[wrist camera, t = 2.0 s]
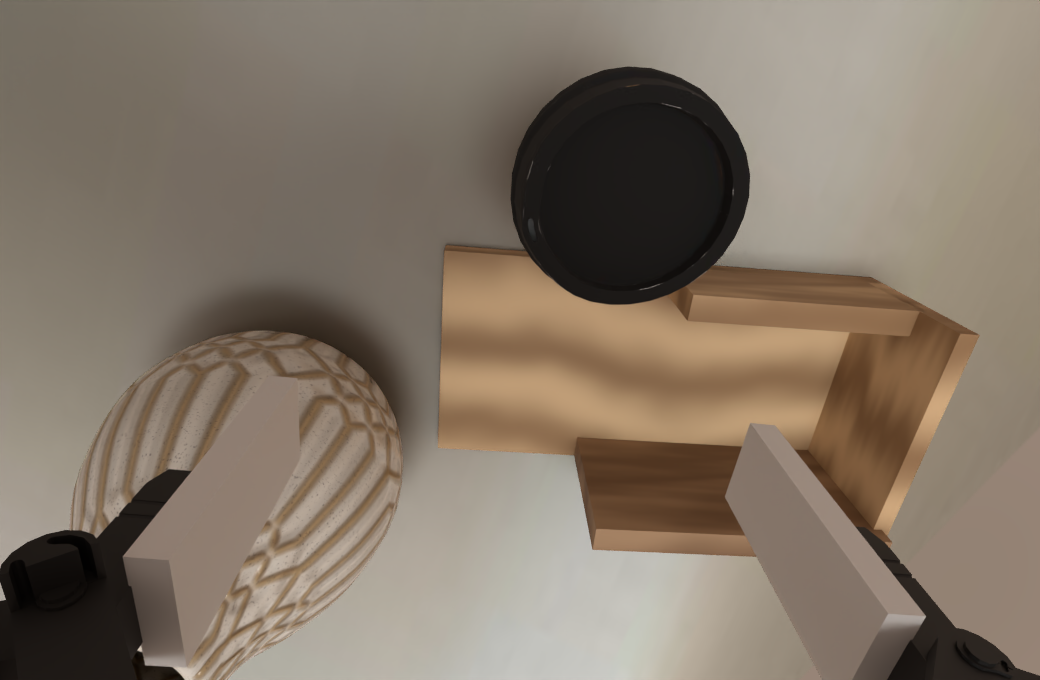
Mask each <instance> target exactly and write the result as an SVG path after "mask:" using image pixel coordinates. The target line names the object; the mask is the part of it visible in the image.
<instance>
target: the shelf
mask: <svg viewBox="0 0 1040 680" xmlns="http://www.w3.org/2000/svg"><path fill="white" fill-rule="evenodd" d="M978 338H979V335H978V334H977V333H975V332H973V331H971V330H969V329H967V328H965V327H963V326H962V325H960V324H958V323H956V322H954V321H952V320H950V319H948V318H947V317H945V316H943V315H941V314H939V313H937V312H935V311H933V310H932V309H930V308H928V307H926V306H924V305H922V304H920V303H918V302H917V301H915V300H913V299H911V298H909V297H907V296H905V295H903V294H902V293H900V292H898V291H896V290H894V289H892V288H890V287H888V286H886V285H885V284H883V283H881V282H879V281H877V280H875V279H873V278H871V277H858V276H845V275H832V274H819V273H806V272H792V271H779V270H766V269H753V268H740V267H727V266H713V265H712V266H711V268H710V269H709V270H708V271H706V272H705V273H704V274H702V275H701V276H700V277H698V278H697V279H696V280H694V281H693V282H692V283H690V284H689V285H687V286H685V287H683V288H681V289H679V290H677V291H675V292H673V293H672V294H669V295H666V296H663V297H661V298H658V299H655V300H652V301H648V302H642V303H636V304H630V305H608V304H602V303H595V302H590V301H587V300H585V299H582V298H579V297H577V296H574V295H572V294H571V293H569V292H568V291H566V290H565V289H563V288H562V287H560V286H559V285H558V284H557V283H556V282H555V281H554V280H553V279H551V278H550V277H548V276H547V275H546V274H545V273H544V272H543V271H542V270H541V269H540V268H539V267H538V266H537V265H536V264H535V263H534V261H533V260H532V259H531V258H530V256H529V254H528V253H527V251H516V250H503V249H490V248H477V247H464V246H450V245H446V247H445V250H444V272H443V304H442V335H441V367H440V398H439V430H438V448H450V449H469V450H487V451H506V452H524V453H543V454H562V455H574V456H575V462H576V467H577V472H578V477H579V482H580V487H581V492H582V498H583V503H584V508H585V513H586V518H587V523H588V529H589V534H590V539H591V544H592V549H593V550H614V551H637V552H660V553H683V554H706V555H729V556H752V557H757V556H756V555H755V553H754V551H753V549H752V547H751V545H750V543H749V541H748V540H747V538H746V536H745V534H744V532H743V530H742V528H741V526H740V525H739V523H738V521H737V519H736V517H735V515H734V513H733V511H732V510H731V508H730V506H729V504H728V502H727V500H726V498H725V495H726V492H727V489H728V486H729V483H730V480H731V477H732V474H733V471H734V469H735V466H736V463H737V460H738V457H739V454H740V451H741V448H742V445H743V442H744V439H745V437H746V434H747V431H748V428H749V425H750V423H756V424H766V425H775V426H776V427H777V429H778V430H779V431H780V432H781V434H782V435H783V436H784V437H785V439H786V440H787V441H788V442H789V444H790V445H791V446H792V447H793V449H794V450H795V451H796V453H797V454H798V455H799V456H800V458H801V459H802V460H803V461H804V463H805V464H806V465H807V466H808V468H809V469H810V470H811V471H812V473H813V474H814V475H815V477H816V478H817V479H818V480H819V482H820V483H821V484H822V485H823V487H824V488H825V489H826V490H827V492H828V493H829V494H830V495H831V497H832V498H833V499H834V501H835V502H836V503H837V504H838V506H839V507H840V508H841V509H842V511H843V512H844V513H845V514H846V516H847V517H848V518H849V520H850V521H851V522H852V523H853V525H854V526H855V527H865V528H867V529H868V530H869V531H871V532H872V533H873V534H874V535H876V536H877V537H878V538H880V539H881V540H882V541H883V542H885V543H886V544H887V546H888V547H889V548H890V546H891V544H892V541H891V540H890V539H889V538H888V537H887V535H888V533H889V531H890V529H891V527H892V524H893V522H894V520H895V518H896V516H897V514H898V511H899V509H900V507H901V505H902V503H903V500H904V498H905V496H906V494H907V492H908V490H909V487H910V485H911V483H912V481H913V479H914V477H915V474H916V472H917V470H918V468H919V466H920V464H921V461H922V459H923V457H924V455H925V453H926V451H927V448H928V446H929V444H930V442H931V440H932V438H933V435H934V433H935V431H936V429H937V427H938V424H939V422H940V420H941V418H942V416H943V414H944V411H945V409H946V407H947V405H948V403H949V401H950V398H951V396H952V394H953V392H954V390H955V388H956V385H957V383H958V381H959V379H960V377H961V375H962V372H963V370H964V368H965V366H966V364H967V361H968V359H969V357H970V355H971V353H972V351H973V348H974V346H975V344H976V342H977V340H978Z"/></svg>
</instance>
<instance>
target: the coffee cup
mask: <svg viewBox="0 0 1040 680" xmlns="http://www.w3.org/2000/svg"><path fill="white" fill-rule="evenodd" d="M749 184H750V173H749V167H748V161H747V155H746V152H745V150H744V147H743V145H742V142H741V140H740V138H739V135H738V133H737V132H736V131H735V129H734V128H733V126H732V125H731V123H730V122H729V121H728V119H727V118H726V116H725V115H724V113H723V112H722V110H721V109H720V108H719V106H718V105H717V104H716V103H715V102H714V101H713V100H712V99H711V98H710V97H709V96H708V95H707V94H705V93H704V92H703V91H702V90H701V89H700V88H698V87H696V86H694V85H692V84H691V83H689V82H687V81H685V80H683V79H682V78H680V77H677V76H675V75H672V74H668V73H665V72H662V71H659V70H655V69H652V68H640V67H622V68H615V69H608V70H603V71H600V72H598V73H595V74H592V75H590V76H587V77H584V78H582V79H580V80H578V81H577V82H575V83H574V84H572V85H570V86H569V87H567V88H566V89H564V90H562V91H561V92H560V93H559V94H557V95H556V96H555V97H554V98H553V99H552V100H551V101H550V102H549V103H548V104H547V105H546V106H545V107H544V108H542V110H541V111H540V113H539V114H538V115H537V117H536V118H535V119H534V121H533V122H532V124H531V125H530V126H529V128H528V129H527V132H526V134H525V136H524V138H523V140H522V142H521V145H520V147H519V149H518V152H517V156H516V160H515V164H514V168H513V172H512V186H511V206H512V213H513V221H514V224H515V227H516V230H517V232H518V235H519V238H520V241H521V243H522V244H523V246H524V248H525V249H526V251H527V253H528V254H529V256H530V258H531V259H532V260H533V261H534V263H535V264H536V265H537V266H538V267H539V268H540V269H541V270H542V271H543V272H544V273H545V274H546V275H547V276H548V277H550V278H551V279H553V280H554V281H555V282H556V283H557V284H558V285H559V286H560V287H562V288H563V289H565V290H566V291H568V292H569V293H571V294H572V295H574V296H577V297H579V298H582V299H585V300H587V301H590V302H595V303H602V304H608V305H630V304H636V303H642V302H648V301H652V300H655V299H658V298H661V297H663V296H666V295H669V294H672V293H673V292H675V291H677V290H679V289H681V288H683V287H685V286H687V285H689V284H690V283H692V282H693V281H694V280H696V279H697V278H698V277H700V276H701V275H702V274H704V273H705V272H706V271H708V270H709V269H710V268H711V266H712V265H713V264H714V263H715V262H716V261H717V260H718V259H719V258H720V257H721V256H722V255H723V254H724V252H725V251H726V249H727V248H728V246H729V245H730V243H731V242H732V241H733V239H734V238H735V236H736V233H737V231H738V229H739V227H740V225H741V222H742V220H743V218H744V214H745V210H746V206H747V202H748V198H749Z"/></svg>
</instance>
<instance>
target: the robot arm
mask: <svg viewBox="0 0 1040 680" xmlns="http://www.w3.org/2000/svg"><path fill="white" fill-rule="evenodd" d="M299 461H300V437H299V409H298V382H297V378H290V377H280V376H270V375H269V376H268V378H267V379H266V380H265V381H264V383H263V384H262V385H261V386H260V387H259V389H258V390H257V391H256V392H255V394H254V395H253V396H252V397H251V399H250V400H249V401H248V402H247V404H246V405H245V406H244V407H243V409H242V410H241V411H240V412H239V413H238V415H237V416H236V417H235V418H234V420H233V421H232V422H231V423H230V425H229V426H228V427H227V428H226V430H225V431H224V432H223V433H222V434H221V436H220V437H219V438H218V439H217V441H216V442H215V443H214V444H213V446H212V447H211V448H210V449H209V451H208V452H207V453H206V454H205V456H204V457H203V458H202V459H201V460H200V462H199V463H198V464H197V465H196V467H195V468H194V469H193V470H192V471H186V470H174V469H168V470H166V471H165V472H163V473H162V474H160V475H158V476H157V477H155V478H153V479H152V480H150V481H148V482H147V483H146V484H145V485H144V486H143V487H142V488H141V489H140V490H139V492H138V493H137V494H136V495H135V496H134V497H133V498H132V501H131V503H128V504H127V505H126V506H125V507H124V508H123V509H122V510H121V512H120V513H119V516H118V517H115V518H114V519H113V521H112V522H111V523H110V524H109V525H108V526H107V527H106V528H105V529H104V531H103V532H102V533H101V534H100V535H99V536H98V537H97V538H96V537H95V536H94V535H93V534H91V533H88V532H85V531H82V530H64V531H59V532H55V533H50V534H46V535H44V536H41V537H39V538H36V539H34V540H32V541H29V542H27V543H26V544H24V545H23V546H21V547H20V548H18V549H17V550H15V551H14V552H12V553H11V554H10V555H9V557H8V558H7V559H6V560H5V561H4V562H3V563H2V565H1V568H0V583H1V586H2V589H3V592H4V595H5V598H6V600H4V601H0V680H137V678H136V675H135V671H134V668H133V664H132V661H131V660H132V658H133V657H134V655H135V653H136V652H137V650H138V649H139V647H140V646H141V647H142V652H143V657H144V662H145V665H149V666H165V667H182V668H187V666H188V665H189V663H190V661H191V659H192V657H193V655H194V654H195V652H196V650H197V648H198V646H199V644H200V643H201V641H202V639H203V637H204V635H205V633H206V632H207V630H208V628H209V626H210V624H211V622H212V621H213V619H214V617H215V615H216V613H217V611H218V610H219V608H220V606H221V604H222V602H223V600H224V599H225V597H226V595H227V593H228V591H229V589H230V588H231V586H232V584H233V582H234V580H235V578H236V577H237V575H238V573H239V571H240V569H241V567H242V566H243V564H244V562H245V560H246V558H247V556H248V555H249V553H250V551H251V549H252V547H253V545H254V544H255V542H256V540H257V538H258V536H259V534H260V532H261V531H262V529H263V527H264V525H265V523H266V521H267V520H268V518H269V516H270V514H271V512H272V510H273V509H274V507H275V505H276V503H277V501H278V499H279V498H280V496H281V494H282V492H283V490H284V488H285V487H286V485H287V483H288V481H289V479H290V477H291V476H292V474H293V472H294V470H295V468H296V466H297V465H298V463H299ZM725 498H726V500H727V502H728V504H729V506H730V508H731V510H732V511H733V513H734V515H735V517H736V519H737V521H738V523H739V525H740V526H741V528H742V530H743V532H744V534H745V536H746V538H747V540H748V541H749V543H750V545H751V547H752V549H753V551H754V553H755V555H756V556H757V558H758V560H759V562H760V564H761V566H762V568H763V570H764V571H765V573H766V575H767V577H768V579H769V581H770V583H771V585H772V586H773V588H774V590H775V592H776V594H777V596H778V598H779V600H780V602H781V603H782V605H783V607H784V609H785V611H786V613H787V615H788V617H789V618H790V620H791V622H792V624H793V626H794V628H795V630H796V632H797V633H798V635H799V637H800V639H801V641H802V643H803V645H804V647H805V648H806V650H807V652H808V654H809V656H810V658H811V660H812V662H813V663H814V665H815V667H816V669H817V671H818V673H819V675H820V677H821V678H822V680H1040V676H1038V675H1035V674H1032V673H1029V672H1026V671H1023V670H1020V669H1017V668H1015V666H1014V665H1013V664H1012V662H1011V661H1010V660H1009V658H1008V657H1007V656H1006V655H1005V654H1004V653H1002V652H1001V651H1000V650H999V649H998V648H997V647H996V646H994V645H993V644H991V643H990V642H988V641H987V640H985V639H983V638H982V637H980V636H979V635H976V634H974V633H971V632H969V631H967V630H964V629H959V628H955V626H954V625H953V624H952V623H951V621H950V620H949V619H948V618H947V617H946V616H945V614H944V613H943V612H942V611H941V610H940V608H939V607H938V606H937V605H936V604H935V602H934V601H933V600H932V599H931V597H930V596H929V595H928V594H927V593H926V591H925V590H924V589H923V588H922V587H921V585H920V584H919V583H918V582H917V581H916V579H914V578H912V574H911V573H910V572H909V571H908V570H907V568H906V567H905V566H904V565H903V564H900V560H899V559H898V558H897V556H896V555H895V554H894V553H893V552H892V550H891V549H890V548H889V547H888V546H887V544H886V543H885V542H883V541H882V540H881V539H880V538H878V537H877V536H876V535H874V534H873V533H872V532H871V531H869V530H868V529H867V528H865V527H855V526H854V525H853V523H852V522H851V521H850V520H849V518H848V517H847V516H846V514H845V513H844V512H843V511H842V509H841V508H840V507H839V506H838V504H837V503H836V502H835V501H834V499H833V498H832V497H831V495H830V494H829V493H828V492H827V490H826V489H825V488H824V487H823V485H822V484H821V483H820V482H819V480H818V479H817V478H816V477H815V475H814V474H813V473H812V471H811V470H810V469H809V468H808V466H807V465H806V464H805V463H804V461H803V460H802V459H801V458H800V456H799V455H798V454H797V453H796V451H795V450H794V449H793V447H792V446H791V445H790V444H789V442H788V441H787V440H786V439H785V437H784V436H783V435H782V434H781V432H780V431H779V430H778V429H777V427H776V426H775V425H766V424H756V423H750V425H749V428H748V431H747V434H746V437H745V439H744V442H743V445H742V448H741V451H740V454H739V457H738V460H737V463H736V466H735V469H734V471H733V474H732V477H731V480H730V483H729V486H728V489H727V492H726V495H725Z"/></svg>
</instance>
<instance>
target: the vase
mask: <svg viewBox="0 0 1040 680" xmlns="http://www.w3.org/2000/svg"><path fill="white" fill-rule="evenodd" d="M269 375H270V376H280V377H290V378H297V382H298V409H299V437H300V461H299V463H298V465H297V466H296V468H295V470H294V472H293V474H292V476H291V477H290V479H289V481H288V483H287V485H286V487H285V488H284V490H283V492H282V494H281V496H280V498H279V499H278V501H277V503H276V505H275V507H274V509H273V510H272V512H271V514H270V516H269V518H268V520H267V521H266V523H265V525H264V527H263V529H262V531H261V532H260V534H259V536H258V538H257V540H256V542H255V544H254V545H253V547H252V549H251V551H250V553H249V555H248V556H247V558H246V560H245V562H244V564H243V566H242V567H241V569H240V571H239V573H238V575H237V577H236V578H235V580H234V582H233V584H232V586H231V588H230V589H229V591H228V593H227V595H226V597H225V599H224V600H223V602H222V604H221V606H220V608H219V610H218V611H217V613H216V615H215V617H214V619H213V621H212V622H211V624H210V626H209V628H208V630H207V632H206V633H205V635H204V637H203V639H202V641H201V643H200V644H199V646H198V648H197V650H196V652H195V654H194V655H193V657H192V659H191V661H190V663H189V665H188V666H187V668H182V667H165V666H149V665H145V662H144V657H143V652H142V647H141V646H140V647H139V649H138V650H137V652H136V653H135V655H134V657H133V658H132V660H131V661H132V664H133V668H134V671H135V675H136V678H137V680H228V678H229V677H230V676H231V675H232V674H233V673H234V672H235V671H236V670H237V669H238V668H239V667H240V666H241V665H242V664H243V663H245V662H246V661H248V660H249V659H251V658H252V657H254V656H256V655H258V654H260V653H262V652H264V651H265V650H267V649H269V648H271V647H272V646H274V645H276V644H278V643H279V642H281V641H283V640H284V639H286V638H288V637H289V636H291V635H292V634H293V633H295V632H296V631H298V630H299V629H301V628H302V627H303V626H305V625H306V624H308V623H309V622H310V621H312V620H313V619H314V618H316V617H317V616H318V615H320V614H321V613H322V612H323V611H325V610H326V609H327V608H328V607H329V606H331V605H332V604H333V603H334V602H335V601H336V600H337V599H338V598H339V597H340V596H341V595H342V594H343V593H344V592H345V591H346V590H347V589H348V588H349V586H350V585H351V584H352V583H353V582H354V581H355V579H356V578H357V577H358V576H359V574H360V573H361V572H362V570H363V569H364V568H365V567H366V565H367V564H368V562H369V561H370V559H371V558H372V557H373V555H374V554H375V552H376V550H377V549H378V547H379V545H380V544H381V542H382V540H383V539H384V537H385V535H386V533H387V531H388V529H389V527H390V525H391V522H392V520H393V517H394V515H395V512H396V509H397V505H398V502H399V497H400V491H401V485H402V472H403V455H402V443H401V437H400V433H399V429H398V426H397V423H396V420H395V416H394V414H393V411H392V409H391V407H390V405H389V403H388V401H387V399H386V398H385V396H384V394H383V393H382V391H381V389H380V388H379V386H378V385H377V384H376V382H375V381H374V380H373V379H372V378H371V376H370V375H369V374H368V373H367V372H366V371H365V370H364V369H363V368H362V367H361V366H359V365H358V364H357V363H356V362H355V361H353V360H352V359H351V358H349V357H348V356H347V355H345V354H343V353H342V352H340V351H339V350H337V349H335V348H333V347H331V346H329V345H327V344H325V343H323V342H320V341H318V340H315V339H312V338H309V337H306V336H302V335H298V334H294V333H288V332H280V331H245V332H237V333H232V334H226V335H221V336H217V337H213V338H210V339H207V340H204V341H201V342H199V343H196V344H194V345H192V346H190V347H187V348H185V349H183V350H181V351H179V352H177V353H175V354H174V355H172V356H170V357H168V358H167V359H165V360H163V361H161V362H160V363H158V364H157V365H155V366H154V367H152V368H151V369H150V370H148V371H147V372H146V373H144V374H143V375H142V376H141V377H140V378H138V379H137V380H136V381H135V382H134V383H133V384H132V385H131V386H130V387H129V388H128V389H127V390H126V391H125V392H124V394H123V395H122V396H121V397H120V398H119V399H118V401H117V402H116V403H115V405H114V406H113V407H112V409H111V410H110V412H109V413H108V415H107V417H106V418H105V420H104V421H103V423H102V424H101V426H100V428H99V430H98V432H97V433H96V435H95V437H94V439H93V441H92V443H91V445H90V447H89V449H88V452H87V454H86V456H85V459H84V461H83V463H82V466H81V469H80V472H79V475H78V478H77V481H76V484H75V488H74V493H73V498H72V505H71V512H70V526H69V530H82V531H85V532H88V533H91V534H93V535H94V536H95V537H96V538H97V537H98V536H99V535H100V534H101V533H102V532H103V531H104V529H105V528H106V527H107V526H108V525H109V524H110V523H111V522H112V521H113V519H114V518H115V517H118V516H119V513H120V512H121V510H122V509H123V508H124V507H125V506H126V505H127V504H128V503H131V501H132V498H133V497H134V496H135V495H136V494H137V493H138V492H139V490H140V489H141V488H142V487H143V486H144V485H145V484H146V483H147V482H148V481H150V480H152V479H153V478H155V477H157V476H158V475H160V474H162V473H163V472H165V471H166V470H168V469H174V470H186V471H192V470H193V469H194V468H195V467H196V465H197V464H198V463H199V462H200V460H201V459H202V458H203V457H204V456H205V454H206V453H207V452H208V451H209V449H210V448H211V447H212V446H213V444H214V443H215V442H216V441H217V439H218V438H219V437H220V436H221V434H222V433H223V432H224V431H225V430H226V428H227V427H228V426H229V425H230V423H231V422H232V421H233V420H234V418H235V417H236V416H237V415H238V413H239V412H240V411H241V410H242V409H243V407H244V406H245V405H246V404H247V402H248V401H249V400H250V399H251V397H252V396H253V395H254V394H255V392H256V391H257V390H258V389H259V387H260V386H261V385H262V384H263V383H264V381H265V380H266V379H267V378H268V376H269Z"/></svg>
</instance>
